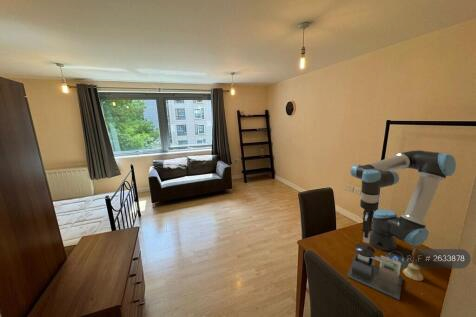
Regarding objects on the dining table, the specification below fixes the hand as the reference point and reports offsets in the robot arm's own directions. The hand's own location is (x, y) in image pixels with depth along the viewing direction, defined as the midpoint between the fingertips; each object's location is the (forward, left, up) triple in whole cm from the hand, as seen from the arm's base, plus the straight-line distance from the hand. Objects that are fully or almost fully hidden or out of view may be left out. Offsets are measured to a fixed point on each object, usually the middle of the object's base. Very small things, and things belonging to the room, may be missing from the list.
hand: (366, 241), depth 104 cm
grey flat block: (-6, +9, -9) cm, 14 cm away
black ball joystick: (-2, +3, -13) cm, 14 cm away
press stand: (-3, +4, -19) cm, 20 cm away
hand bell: (-24, +4, -19) cm, 31 cm away
